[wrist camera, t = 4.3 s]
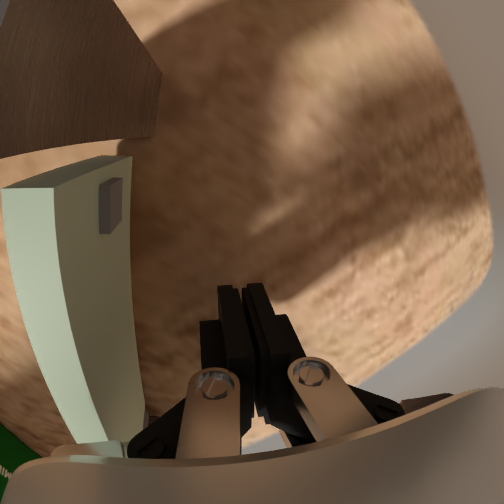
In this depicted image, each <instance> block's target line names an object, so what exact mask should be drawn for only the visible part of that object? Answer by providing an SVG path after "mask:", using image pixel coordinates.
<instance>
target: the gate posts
mask: <svg viewBox="0 0 504 504" xmlns="http://www.w3.org/2000/svg"><path fill="white" fill-rule="evenodd" d="M161 76H162V73H161V71H160V70H159V68H158V67H157V65H156V63H155V62H154V60H153V59H152V57H151V56H150V54H149V53H148V51H147V50H146V48H145V47H144V45H143V44H142V42H141V41H140V39H139V38H138V36H137V35H136V33H135V32H134V30H133V29H132V27H131V26H130V24H129V23H128V21H127V20H126V18H125V17H124V15H123V14H122V12H121V11H120V9H119V8H118V7H117V5H116V4H115V2H114V1H113V0H0V159H2V158H6V157H10V156H15V155H19V154H24V153H29V152H34V151H39V150H44V149H50V148H56V147H62V146H68V145H75V144H82V143H89V142H97V141H106V140H116V139H127V138H139V137H153V135H154V126H155V117H156V109H157V102H158V95H159V88H160V82H161ZM158 418H159V417H150V416H149V420H148V426H149V425H150V424H152V423H153V422H154V421H156V420H157V419H158Z"/></svg>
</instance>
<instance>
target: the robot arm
mask: <svg viewBox="0 0 504 504" xmlns="http://www.w3.org/2000/svg"><path fill="white" fill-rule="evenodd" d="M217 292H218V310H219V320H208V321H200V346H201V366H202V370H200V371H199V372H197V373H195V374H194V375H193V376H192V378H191V379H190V382H189V385H188V390H187V395H186V398H184V399H183V400H182V401H180V402H179V403H178V404H177V405H175V406H174V407H173V408H171V409H170V410H169V411H168V412H166V413H165V414H164V415H162V416H161V417H160V418H158V419H157V420H156V421H154V422H153V423H152V424H150V425H149V426H148V427H146V428H145V429H143V430H142V431H141V432H139V433H138V434H137V435H135V436H134V437H133V438H132V439H131V440H130V441H128V442H121V440H112V441H103V442H92V443H80V444H65V445H61V446H59V447H57V448H56V449H54V450H53V452H52V453H51V455H50V457H44V458H39V459H35V460H32V461H29V462H26V463H24V464H22V465H21V466H19V467H18V468H17V469H16V470H15V471H14V472H13V474H12V475H11V477H10V479H9V481H8V483H7V486H6V488H5V491H4V494H3V497H2V500H1V504H504V388H499V387H485V388H477V389H473V390H468V391H465V392H462V393H459V394H455V395H453V394H450V393H443V394H438V395H432V396H426V397H421V398H414V399H406V400H401V402H400V403H397V402H395V401H393V400H391V399H388V398H385V397H382V396H379V395H376V394H373V393H370V392H367V391H364V390H362V389H359V388H356V387H354V386H351V385H348V384H346V383H345V381H344V380H343V379H342V377H341V376H340V375H339V374H338V372H337V371H336V370H335V369H334V367H333V366H332V365H331V364H330V363H329V362H327V361H325V360H323V359H321V358H317V357H306V354H305V352H304V350H303V348H302V346H301V344H300V342H299V339H298V337H297V335H296V333H295V331H294V329H293V327H292V325H291V322H290V320H289V318H288V316H287V315H286V314H281V315H275V313H274V310H273V308H272V306H271V303H270V301H269V298H268V296H267V293H266V291H265V289H264V286H263V284H262V283H251V284H247V288H242V302H241V299H240V295H239V291H238V288H233V287H232V285H221V286H217ZM254 402H255V406H256V410H257V414H258V417H262V416H264V420H265V423H266V424H271V425H273V426H275V427H276V428H278V429H280V430H279V432H280V435H281V437H282V439H283V441H284V443H285V445H286V447H287V448H285V449H280V450H274V451H268V452H260V453H254V454H246V455H242V437H243V435H244V434H245V433H246V432H247V431H248V430H249V429H250V428H251V418H254Z"/></svg>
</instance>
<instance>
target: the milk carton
mask: <svg viewBox="0 0 504 504" xmlns="http://www.w3.org/2000/svg"><path fill="white" fill-rule="evenodd" d="M39 458H42V457H40V456H39V455H38V454H36V453H35V452H34V451H32V450H31V449H30V448H28V447H27V446H26V445H25V444H23V443H22V442H21V441H20V440H19V439H17V438H16V437H15V436H14V435H13V434H11V433H10V432H9V431H8V430H7V429H6V428H5V427H3V426H2V425H1V424H0V504H1V500H2V497H3V494H4V491H5V488H6V486H7V483H8V481H9V479H10V477H11V475H12V474H13V472H14V471H15V470H16V469H17V468H18V467H19V466H21V465H22V464H24V463H26V462H29V461H32V460H35V459H39Z"/></svg>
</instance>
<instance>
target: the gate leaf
mask: <svg viewBox="0 0 504 504" xmlns="http://www.w3.org/2000/svg"><path fill="white" fill-rule="evenodd" d="M132 158H133V156H106V155H101V156H97V157H94V158H90V159H86V160H83V161H79V162H76V163H73V164H69V165H66V166H63V167H60V168H57V169H54V170H51V171H48V172H45V173H42V174H39V175H36V176H33V177H30V178H28V179H25V180H22V181H19V182H17V183H14V184H12V185H9V186H7V187H4V188H2V189H1V197H2V210H3V221H4V230H5V237H6V244H7V251H8V257H9V262H10V268H11V273H12V277H13V282H14V286H15V291H16V295H17V299H18V303H19V307H20V310H21V314H22V317H23V321H24V324H25V327H26V330H27V333H28V337H29V340H30V342H31V345H32V348H33V351H34V354H35V356H36V359H37V362H38V364H39V367H40V369H41V372H42V374H43V377H44V379H45V381H46V384H47V386H48V388H49V390H50V393H51V395H52V397H53V399H54V401H55V403H56V405H57V407H58V409H59V411H60V413H61V415H62V417H63V419H64V421H65V423H66V425H67V427H68V429H69V430H70V432H71V434H72V436H73V437H74V439H75V441H76V443H77V444H80V443H92V442H103V441H112V440H121V442H128V441H130V440H131V439H132V438H133V437H134V436H135V435H137V434H138V433H139V432H141V431H142V430H143V429H145V428H146V427H148V420H149V412H148V411H147V410H146V409H145V399H144V393H143V387H142V381H141V374H140V367H139V360H138V352H137V344H136V335H135V325H134V314H133V301H132V286H131V263H130V196H131V174H132Z"/></svg>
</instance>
